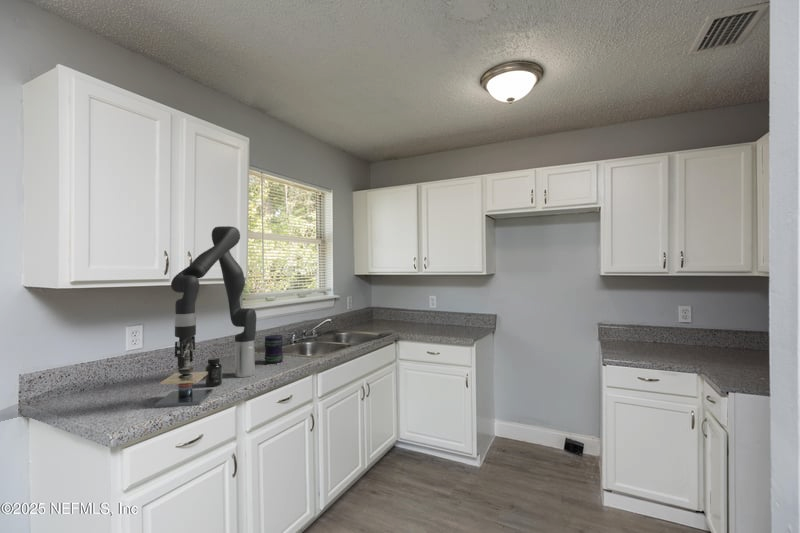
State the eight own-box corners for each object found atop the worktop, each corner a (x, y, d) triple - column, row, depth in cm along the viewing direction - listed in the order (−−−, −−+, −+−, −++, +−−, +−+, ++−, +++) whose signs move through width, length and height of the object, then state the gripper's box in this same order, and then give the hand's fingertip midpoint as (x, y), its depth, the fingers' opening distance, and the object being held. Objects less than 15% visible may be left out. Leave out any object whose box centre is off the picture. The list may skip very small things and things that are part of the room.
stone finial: (196, 374, 158) (196, 345, 158) (189, 378, 152) (189, 348, 152) (182, 374, 157) (182, 345, 158) (174, 378, 152) (174, 348, 152)
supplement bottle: (225, 382, 177) (224, 357, 177) (216, 387, 170) (216, 360, 170) (211, 382, 177) (211, 356, 178) (202, 387, 171) (202, 360, 171)
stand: (172, 394, 161) (172, 372, 161) (212, 391, 163) (212, 370, 164) (154, 407, 145) (154, 383, 145) (199, 404, 148) (199, 381, 148)
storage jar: (263, 361, 218) (263, 335, 218) (281, 360, 222) (281, 334, 222) (265, 365, 209) (265, 338, 209) (284, 363, 213) (284, 337, 213)
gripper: (188, 326, 148) (188, 368, 148) (201, 321, 162) (201, 360, 162) (167, 327, 147) (167, 369, 147) (182, 322, 161) (182, 360, 161)
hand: (185, 364), depth 154 cm, fingers open, 8 cm apart
